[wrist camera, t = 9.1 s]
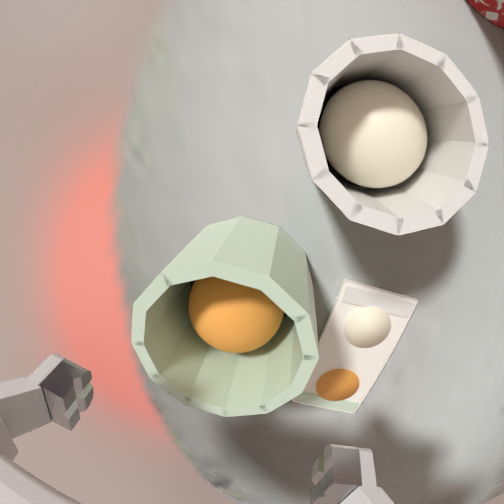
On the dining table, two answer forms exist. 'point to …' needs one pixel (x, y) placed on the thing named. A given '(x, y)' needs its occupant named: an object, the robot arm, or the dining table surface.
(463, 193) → the tube grey
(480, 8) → the mug
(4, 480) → the robot arm
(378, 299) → the card
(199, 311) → the ball orange
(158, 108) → the dining table surface
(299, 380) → the tube green
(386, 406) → the dining table surface
